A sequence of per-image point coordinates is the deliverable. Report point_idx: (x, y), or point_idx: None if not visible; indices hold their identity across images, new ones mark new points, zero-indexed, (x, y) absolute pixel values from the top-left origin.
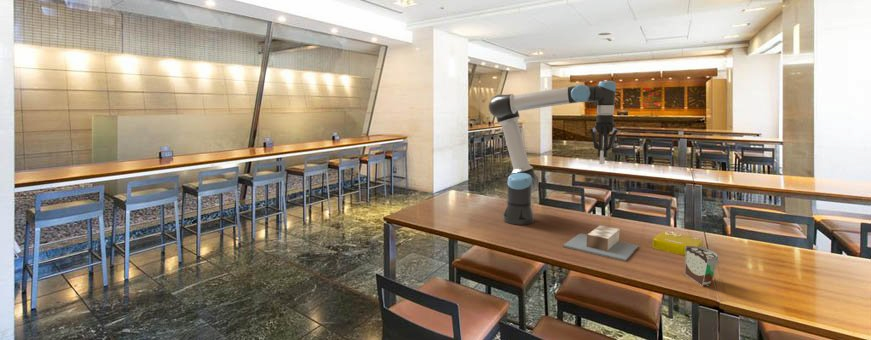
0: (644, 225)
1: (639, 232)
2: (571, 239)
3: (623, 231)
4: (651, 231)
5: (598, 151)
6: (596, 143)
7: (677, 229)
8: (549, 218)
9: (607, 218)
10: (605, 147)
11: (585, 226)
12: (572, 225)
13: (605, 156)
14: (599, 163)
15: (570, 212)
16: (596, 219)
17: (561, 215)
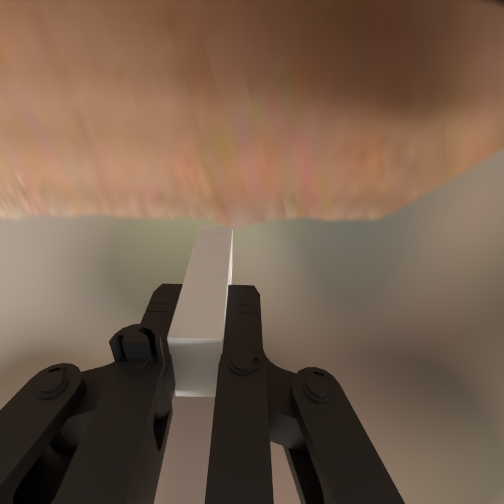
0: (106, 193)
1: (78, 93)
2: None
3: (123, 67)
4: (58, 135)
5: (257, 341)
6: (324, 498)
7: (21, 208)
8: (417, 66)
9: (225, 203)
10: (117, 400)
11: (260, 38)
12: (310, 15)
13: (161, 291)
14: (232, 231)
15: (350, 203)
16: (251, 169)
17: (375, 144)
